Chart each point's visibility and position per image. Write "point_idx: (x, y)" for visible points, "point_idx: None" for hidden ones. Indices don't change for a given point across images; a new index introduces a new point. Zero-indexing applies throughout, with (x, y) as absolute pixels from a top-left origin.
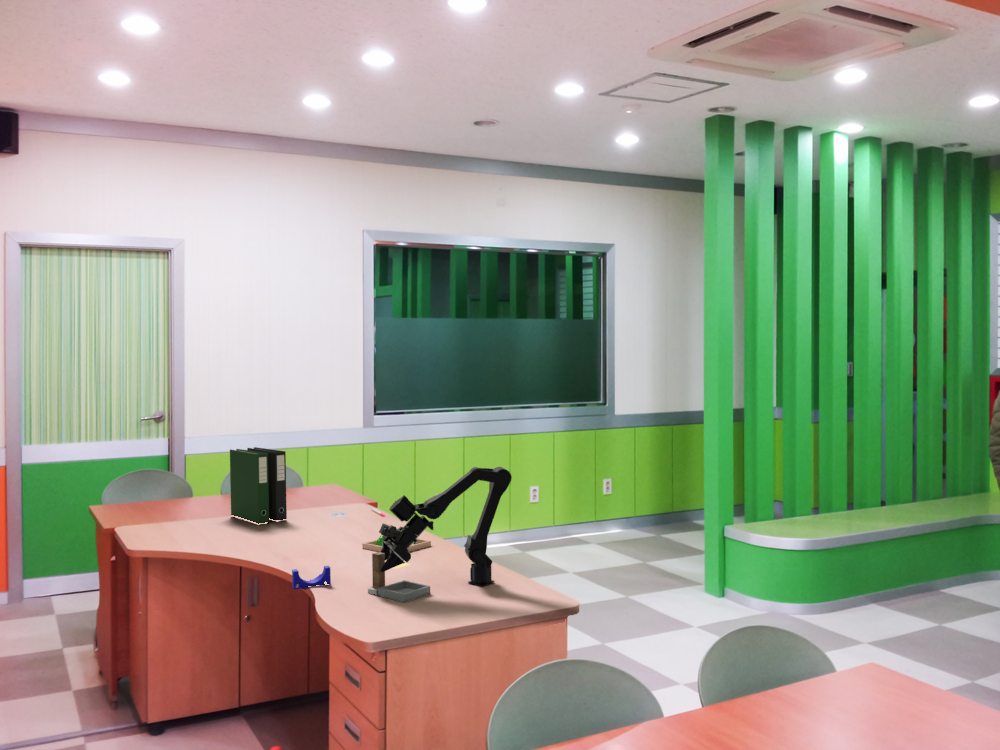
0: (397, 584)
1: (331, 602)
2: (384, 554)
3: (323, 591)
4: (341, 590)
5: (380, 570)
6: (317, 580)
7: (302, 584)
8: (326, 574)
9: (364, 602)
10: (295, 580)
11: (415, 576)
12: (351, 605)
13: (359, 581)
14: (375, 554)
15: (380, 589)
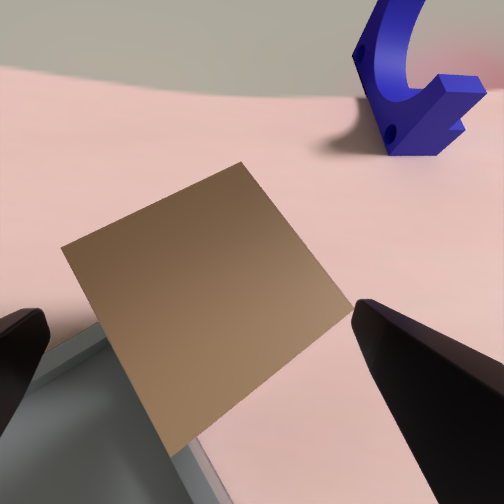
0: (185, 482)
1: (132, 112)
2: (169, 439)
3: (301, 118)
4: (297, 175)
5: (28, 310)
6: (398, 99)
7: (367, 60)
8: (414, 105)
9: (49, 229)
10: (370, 23)
11: None
12: (35, 168)
13: (428, 270)
14: (154, 205)
15: (97, 325)
